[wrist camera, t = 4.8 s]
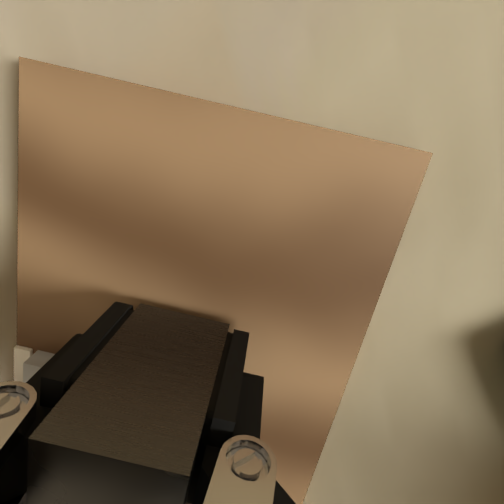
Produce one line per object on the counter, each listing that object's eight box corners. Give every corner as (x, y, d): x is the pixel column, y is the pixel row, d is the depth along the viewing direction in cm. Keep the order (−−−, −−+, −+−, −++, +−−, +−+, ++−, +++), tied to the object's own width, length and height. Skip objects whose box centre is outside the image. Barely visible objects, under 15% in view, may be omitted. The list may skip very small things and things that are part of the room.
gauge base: (40, 63, 11) (-1234, -324, 2) (419, 151, 11) (1174, 237, 2) (29, 525, 18) (-249, 956, 8) (264, 580, 18) (248, 1074, 8)
